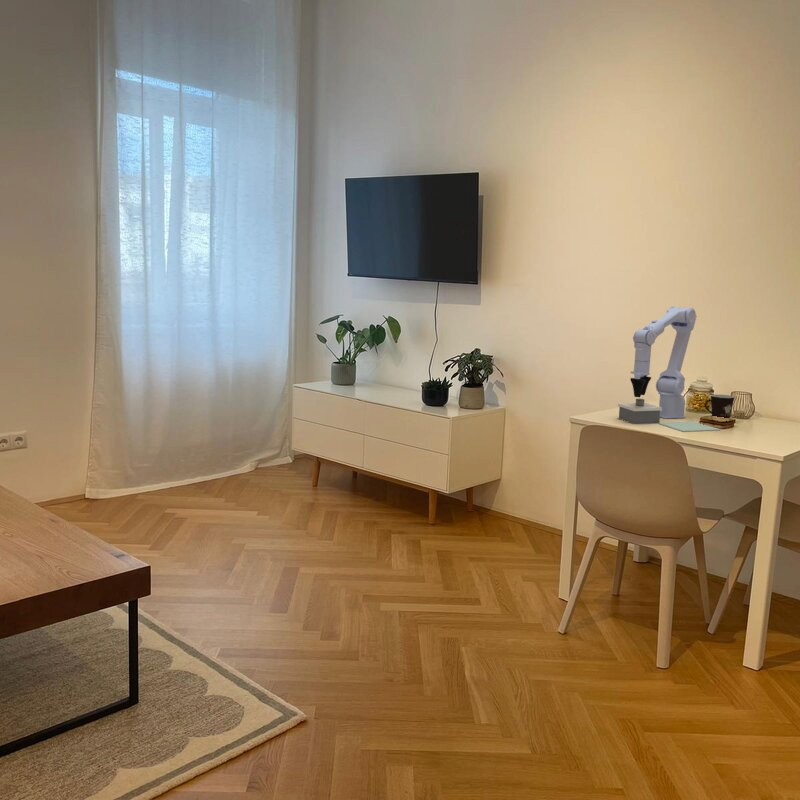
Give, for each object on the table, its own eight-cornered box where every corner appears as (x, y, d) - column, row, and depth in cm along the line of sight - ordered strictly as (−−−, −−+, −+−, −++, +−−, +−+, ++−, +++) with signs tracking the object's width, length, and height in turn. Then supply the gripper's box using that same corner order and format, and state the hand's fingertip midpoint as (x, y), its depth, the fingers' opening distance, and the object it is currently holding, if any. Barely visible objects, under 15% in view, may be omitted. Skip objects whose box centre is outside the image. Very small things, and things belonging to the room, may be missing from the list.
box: (643, 417, 333) (644, 405, 332) (659, 423, 322) (660, 410, 321) (618, 418, 330) (619, 406, 329) (634, 423, 319) (634, 411, 318)
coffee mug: (728, 419, 333) (730, 394, 331) (735, 423, 324) (737, 398, 322) (698, 418, 334) (700, 393, 332) (704, 422, 325) (706, 397, 324)
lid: (644, 405, 332) (645, 396, 332) (661, 410, 321) (662, 401, 321) (617, 406, 329) (618, 397, 329) (634, 411, 318) (635, 402, 317)
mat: (693, 422, 325) (694, 421, 325) (720, 430, 310) (720, 429, 310) (658, 423, 320) (658, 422, 320) (683, 431, 305) (683, 430, 305)
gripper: (636, 358, 328) (633, 393, 330) (627, 361, 316) (624, 396, 318) (654, 360, 325) (651, 394, 327) (646, 362, 312) (643, 398, 314)
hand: (639, 396), depth 322 cm, fingers open, 7 cm apart
